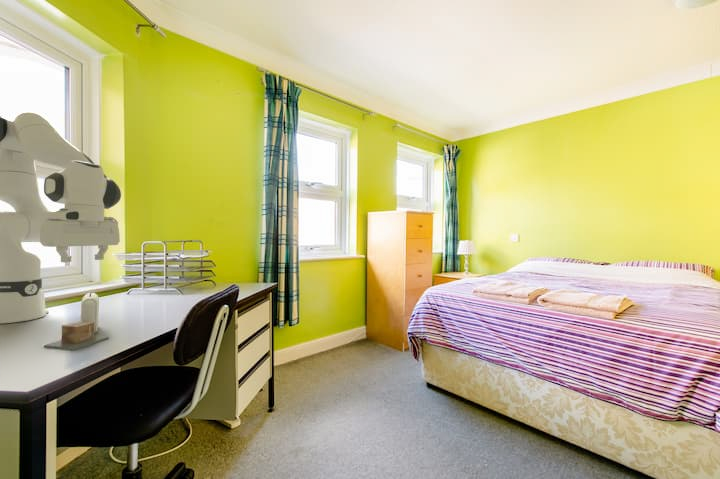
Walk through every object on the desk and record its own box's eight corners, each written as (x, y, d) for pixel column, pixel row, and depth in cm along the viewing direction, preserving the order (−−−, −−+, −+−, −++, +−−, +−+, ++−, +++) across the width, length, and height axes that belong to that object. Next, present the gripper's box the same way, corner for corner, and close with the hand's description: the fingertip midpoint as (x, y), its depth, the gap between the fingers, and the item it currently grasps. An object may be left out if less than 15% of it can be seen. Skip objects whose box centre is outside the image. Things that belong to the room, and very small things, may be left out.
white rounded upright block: (82, 327, 103) (82, 291, 103) (98, 325, 106) (99, 290, 106) (79, 336, 95) (80, 296, 95) (97, 333, 98) (98, 295, 98)
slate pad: (43, 347, 85) (43, 345, 85) (81, 335, 95) (81, 334, 95) (73, 350, 84) (73, 348, 84) (108, 338, 94) (108, 336, 94)
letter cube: (61, 342, 88) (61, 325, 87) (79, 337, 92) (80, 320, 92) (76, 344, 87) (76, 326, 87) (94, 338, 92) (94, 322, 92)
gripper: (109, 217, 102) (108, 258, 102) (35, 212, 82) (34, 263, 82) (125, 217, 101) (124, 259, 101) (55, 212, 81) (53, 264, 81)
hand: (83, 261), depth 92 cm, fingers open, 8 cm apart
